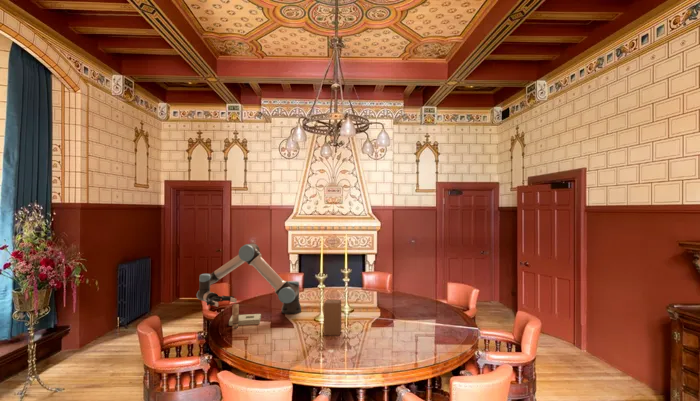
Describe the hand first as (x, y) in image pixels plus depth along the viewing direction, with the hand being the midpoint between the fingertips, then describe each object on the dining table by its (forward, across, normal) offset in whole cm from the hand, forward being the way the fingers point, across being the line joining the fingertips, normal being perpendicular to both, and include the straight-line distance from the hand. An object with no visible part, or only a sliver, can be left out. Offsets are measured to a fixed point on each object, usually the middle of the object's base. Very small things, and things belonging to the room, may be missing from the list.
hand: (227, 302), depth 240 cm
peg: (+10, 0, -15) cm, 18 cm away
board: (+4, -12, -15) cm, 19 cm away
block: (+68, -33, -14) cm, 77 cm away
